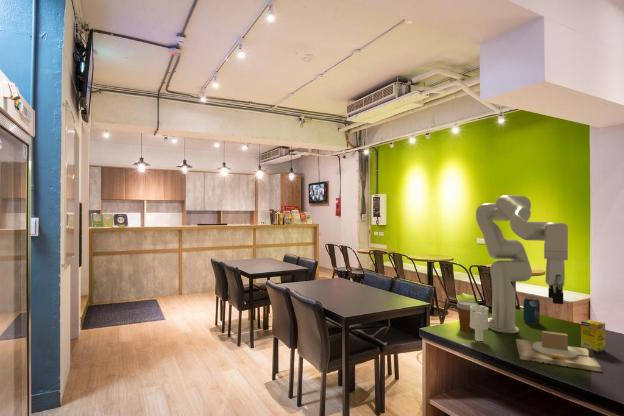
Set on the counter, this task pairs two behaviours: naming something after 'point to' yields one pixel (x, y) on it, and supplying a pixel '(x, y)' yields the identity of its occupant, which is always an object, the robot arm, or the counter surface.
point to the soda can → (531, 310)
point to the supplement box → (593, 335)
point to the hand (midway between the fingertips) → (555, 301)
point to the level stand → (581, 361)
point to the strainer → (479, 320)
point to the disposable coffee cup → (465, 314)
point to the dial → (555, 345)
